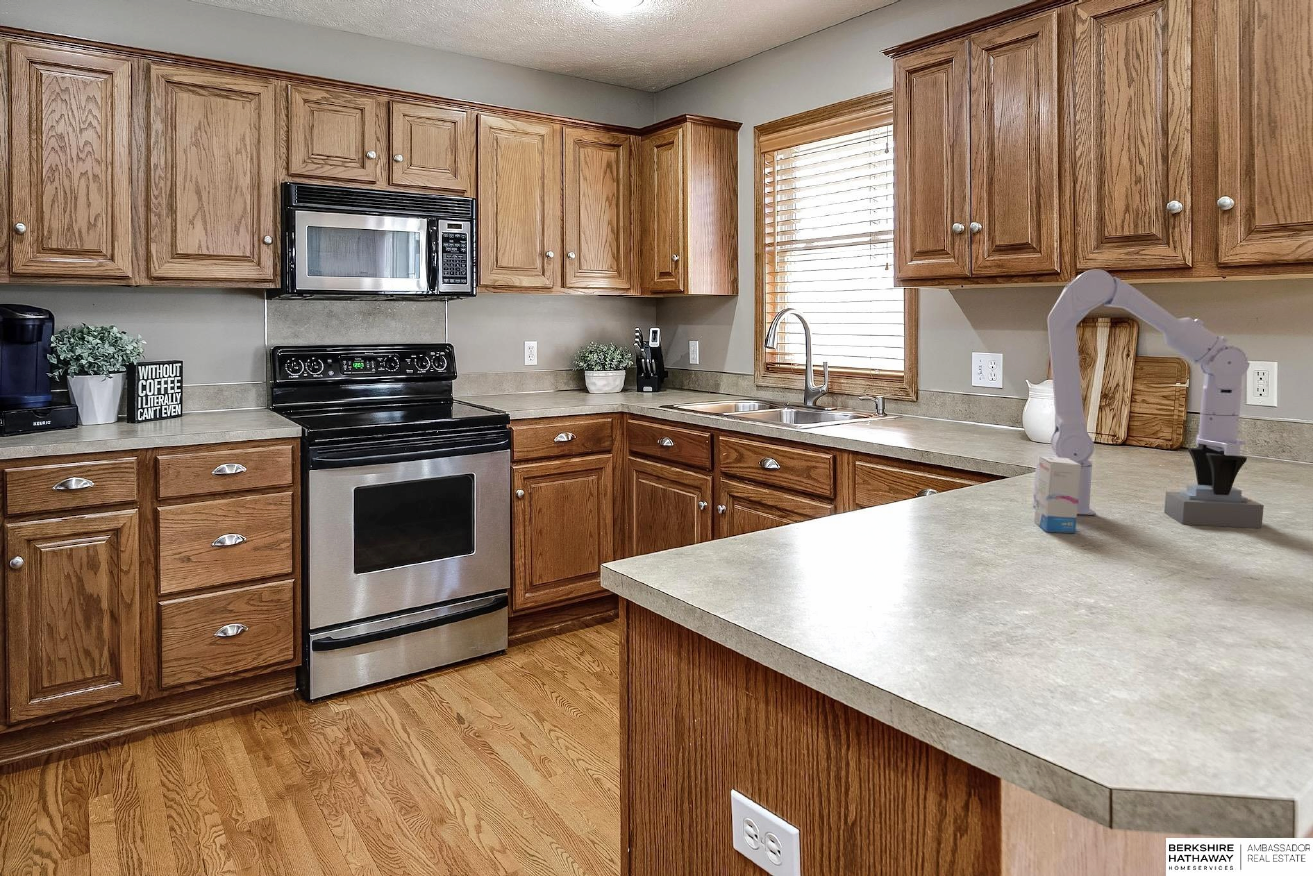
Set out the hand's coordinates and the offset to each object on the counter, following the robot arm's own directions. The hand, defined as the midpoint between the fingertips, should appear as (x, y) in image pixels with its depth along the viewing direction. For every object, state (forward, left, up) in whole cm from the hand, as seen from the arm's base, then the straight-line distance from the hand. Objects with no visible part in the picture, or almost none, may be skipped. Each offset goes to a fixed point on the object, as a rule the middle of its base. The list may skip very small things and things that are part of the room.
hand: (1213, 490), depth 150 cm
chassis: (0, 0, -5) cm, 5 cm away
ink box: (-28, -14, -6) cm, 32 cm away
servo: (0, 0, -5) cm, 5 cm away
